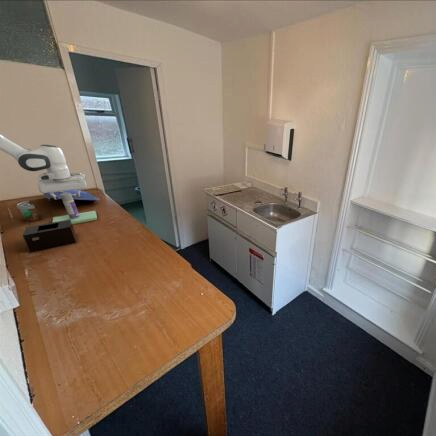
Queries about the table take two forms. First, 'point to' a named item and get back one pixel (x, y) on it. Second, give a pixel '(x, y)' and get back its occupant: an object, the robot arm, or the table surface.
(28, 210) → the food container
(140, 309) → the table surface
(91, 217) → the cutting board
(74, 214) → the container
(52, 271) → the table surface
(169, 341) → the table surface
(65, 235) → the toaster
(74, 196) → the blue sloped panel
